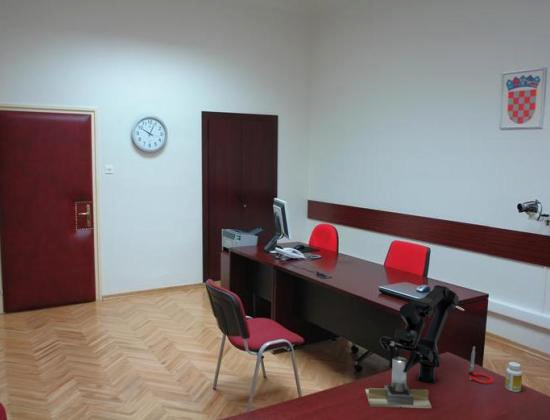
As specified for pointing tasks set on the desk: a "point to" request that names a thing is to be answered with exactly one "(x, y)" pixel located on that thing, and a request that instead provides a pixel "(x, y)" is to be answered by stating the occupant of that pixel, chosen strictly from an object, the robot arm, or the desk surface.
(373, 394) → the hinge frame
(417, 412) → the desk surface
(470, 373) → the tow hook
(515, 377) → the supplement bottle
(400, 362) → the silver metal cylinder
